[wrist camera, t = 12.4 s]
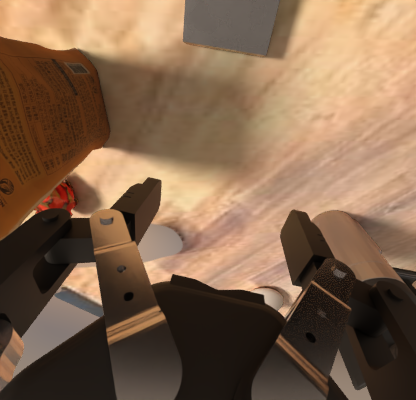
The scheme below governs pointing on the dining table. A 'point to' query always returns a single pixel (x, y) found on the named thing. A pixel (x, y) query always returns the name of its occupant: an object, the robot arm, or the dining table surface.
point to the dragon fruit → (59, 199)
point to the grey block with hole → (230, 24)
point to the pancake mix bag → (44, 123)
